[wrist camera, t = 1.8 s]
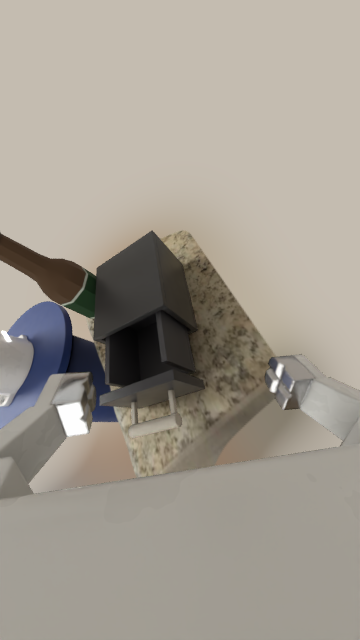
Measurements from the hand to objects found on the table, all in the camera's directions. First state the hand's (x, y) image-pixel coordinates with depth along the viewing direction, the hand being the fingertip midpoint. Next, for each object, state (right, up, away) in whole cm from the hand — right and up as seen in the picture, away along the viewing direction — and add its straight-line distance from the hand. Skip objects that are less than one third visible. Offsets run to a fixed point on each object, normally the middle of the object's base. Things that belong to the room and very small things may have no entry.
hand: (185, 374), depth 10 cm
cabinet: (-4, +5, +31) cm, 31 cm away
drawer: (-2, -5, +24) cm, 25 cm away
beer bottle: (-14, +4, +37) cm, 40 cm away
